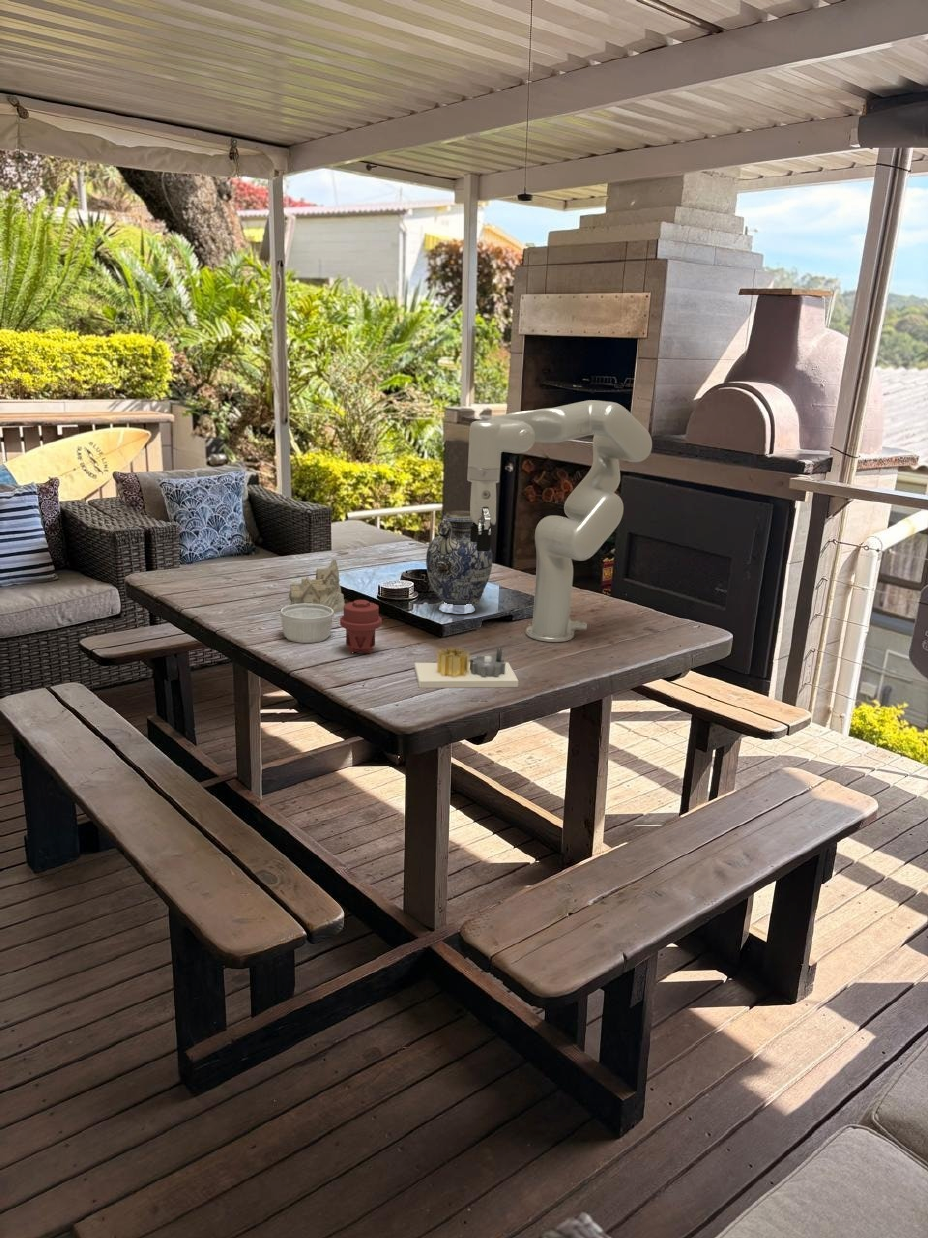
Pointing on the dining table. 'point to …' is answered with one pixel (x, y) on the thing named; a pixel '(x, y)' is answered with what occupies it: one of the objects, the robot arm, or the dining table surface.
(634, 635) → the dining table surface
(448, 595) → the decorative vase
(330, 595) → the ceramic cottage
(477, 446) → the robot arm
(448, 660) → the brass gear
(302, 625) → the ramekin
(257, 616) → the dining table surface
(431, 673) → the gear board
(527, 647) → the dining table surface
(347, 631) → the mechanical component
